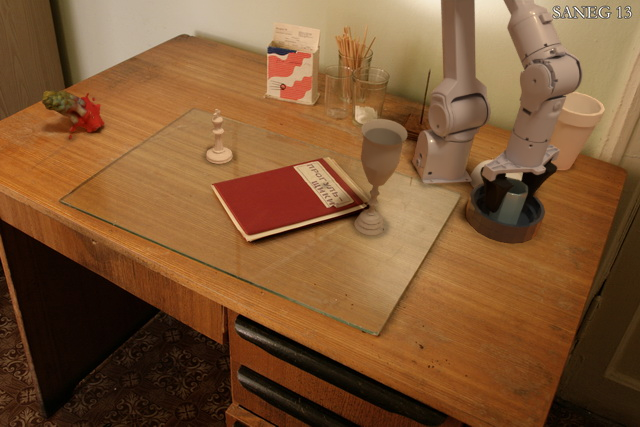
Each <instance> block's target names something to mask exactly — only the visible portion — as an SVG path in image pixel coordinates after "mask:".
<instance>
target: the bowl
mask: <svg viewBox="0 0 640 427" xmlns="http://www.w3.org/2000/svg"><path fill="white" fill-rule="evenodd" d="M488 211H489V210H488V209H487V208H486V207H485V188H484V183H483V182H482V183H480V184H477V186H475V187H474V188H472V190H471V191H470V194H469V197H468V201H467V205H466V208H465V218H466V220H467V221H468V223H469V225H470V226H471V227H472V228H473V229H474V230H475V231H476V232H478V233H479V234H481V235H482V236H484V237H485V238H488V239H490V240H493V241H496V242H500V243H505V244H519V243H520V244H523V243H525V242H529V241H531V240H532V239H533V238H534V237H535V236H537V235H538V233H539V230H540V227H541V225H542V223H543V220H544V217H545V214H546V210H545V206H544V204H543V202H542V201H541V200H540V198H539V197H538V196H537V195H535V194H534V195H533V197H532V198H531V199H530V200H529V201H526V200H525V202H524V205H523V207H522V210H521V213H520V215H519V218H518V221H517V223H516V225H514V224H507V223H503V222H500V221H497V220H494V219H492V218H491V217H489V216H488Z"/></svg>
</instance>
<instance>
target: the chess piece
mask: <svg viewBox="0 0 640 427" xmlns="http://www.w3.org/2000/svg"><path fill="white" fill-rule="evenodd" d="M221 113H222V112H221V110H219V108H215V109H214V113H213V114H212V116H213V117H212V118H211V122H212V125H213V128H212V130H211V133H212V134H214V138H215V139H214V146H213V147H211V148H208V149H207V151H206V153H205V159H206V160H207V161H208V162H209V163H212V164H216V165H223V164H226V163H229V162H230V161H231V160H232V159H233V157H234V156H233V152H232V150H231V149H230V148H228V147H226V146H224V144H223V139H222V134H223V133H225V129H224V128H223V127H222V126H223V125H222V124H223V122H224V118H223V117H222V116H219V115H220V114H221Z"/></svg>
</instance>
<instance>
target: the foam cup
mask: <svg viewBox="0 0 640 427" xmlns="http://www.w3.org/2000/svg"><path fill="white" fill-rule="evenodd" d="M563 96H567V97H566V100H565V102H564V105H563V108H562V110H561V113H560V116H559V118H558V121H557V124H556V126H555V129H554V132H553V134H552V137H551V140H550V142H549V145H550V144H551V145H553V146H555V147H556V148H558V149H559V150H560V152H559V155H558V157H557V160H554V161H551V163H553V164H554V165H556V166H557V170H556V171H567V170H570V169H571V167H572V166H573V164H574V163H575V161H576V160H577V158H578V156H579V155H580V153H581V151H582V150H583V148H584V146H585V145H586V143H587V142H588V140H589V138H590V136H591V134H592V133H593V132H594V130H595V128H596V127H597V125H598V124H599V123H600V122H601V121H602V118H603V116H604V114H605V111H606V108H605V106H604V104H603V103H602V102H601V101H600V100H598V98H595V97H593V96H591V95H588V94H586V93H582V92H578V91H574V92H572V93H569V94H567V95H563Z"/></svg>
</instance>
